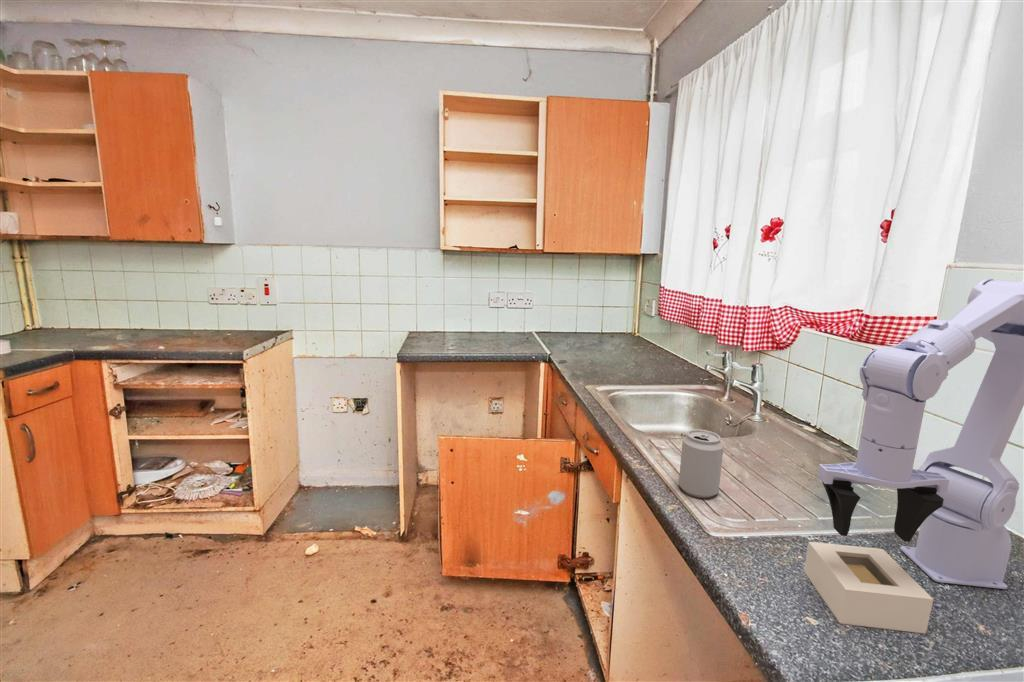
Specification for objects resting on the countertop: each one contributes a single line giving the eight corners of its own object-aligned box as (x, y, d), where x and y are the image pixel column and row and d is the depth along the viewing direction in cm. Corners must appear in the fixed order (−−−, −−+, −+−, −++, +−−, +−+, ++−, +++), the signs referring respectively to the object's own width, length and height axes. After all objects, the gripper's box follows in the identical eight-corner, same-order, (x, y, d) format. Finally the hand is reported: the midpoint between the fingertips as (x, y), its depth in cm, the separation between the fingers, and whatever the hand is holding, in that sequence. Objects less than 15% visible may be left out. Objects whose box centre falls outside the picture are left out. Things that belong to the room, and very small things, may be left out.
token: (859, 590, 66) (863, 565, 65) (877, 611, 62) (882, 585, 61) (840, 588, 66) (844, 563, 65) (857, 609, 62) (862, 583, 62)
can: (671, 489, 93) (676, 433, 91) (688, 477, 98) (693, 424, 96) (708, 504, 88) (715, 445, 85) (724, 491, 93) (730, 434, 90)
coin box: (876, 579, 68) (882, 548, 67) (925, 633, 58) (933, 599, 57) (803, 571, 70) (808, 541, 69) (839, 623, 60) (845, 589, 59)
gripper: (927, 432, 63) (909, 522, 65) (812, 424, 65) (799, 513, 67) (970, 454, 56) (948, 554, 58) (840, 445, 58) (824, 542, 60)
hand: (870, 534), depth 62 cm, fingers open, 7 cm apart
